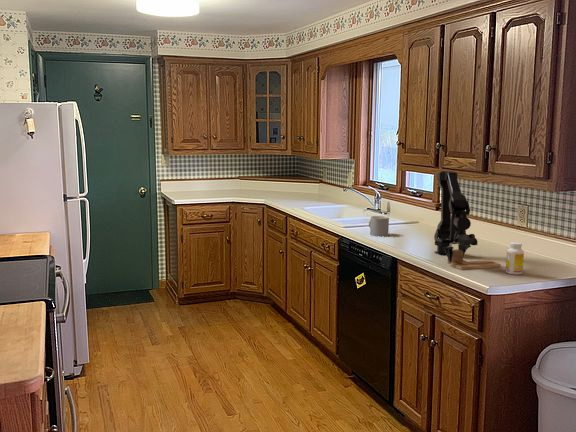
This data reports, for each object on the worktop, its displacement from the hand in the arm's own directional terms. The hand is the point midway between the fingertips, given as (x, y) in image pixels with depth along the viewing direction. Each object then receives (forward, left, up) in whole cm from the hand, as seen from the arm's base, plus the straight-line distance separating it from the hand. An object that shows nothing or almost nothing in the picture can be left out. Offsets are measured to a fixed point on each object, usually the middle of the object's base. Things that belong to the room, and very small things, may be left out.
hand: (455, 261), depth 264 cm
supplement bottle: (+21, +14, -2) cm, 26 cm away
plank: (+6, +6, -1) cm, 9 cm away
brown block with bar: (+3, 0, -1) cm, 3 cm away
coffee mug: (-74, 0, -2) cm, 74 cm away
